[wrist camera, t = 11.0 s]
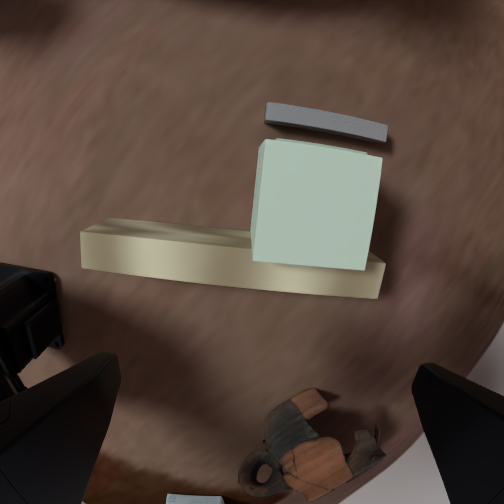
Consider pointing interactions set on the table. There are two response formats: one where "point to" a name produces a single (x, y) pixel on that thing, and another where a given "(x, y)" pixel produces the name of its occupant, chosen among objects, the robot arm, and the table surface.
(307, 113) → the strip
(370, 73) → the table surface
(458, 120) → the table surface
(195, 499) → the light bulb box
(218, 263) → the wall board
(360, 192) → the cabinet block
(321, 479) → the brown hollow fragmented part
